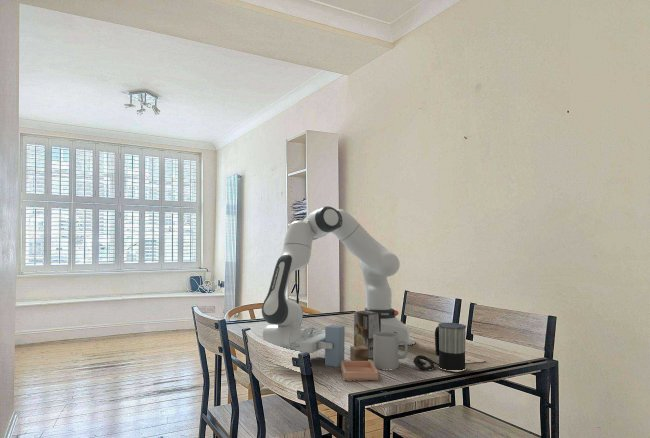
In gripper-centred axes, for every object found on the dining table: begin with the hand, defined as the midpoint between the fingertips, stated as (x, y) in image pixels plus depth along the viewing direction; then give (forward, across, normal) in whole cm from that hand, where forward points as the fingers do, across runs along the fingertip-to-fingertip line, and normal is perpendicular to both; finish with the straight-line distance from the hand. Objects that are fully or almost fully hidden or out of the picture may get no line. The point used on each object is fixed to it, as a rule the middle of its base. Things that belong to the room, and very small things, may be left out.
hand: (337, 344), depth 155 cm
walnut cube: (+5, +8, +7) cm, 12 cm away
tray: (+11, -7, +7) cm, 15 cm away
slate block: (-1, 0, +7) cm, 7 cm away
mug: (+17, +7, +7) cm, 20 cm away
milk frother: (+32, +13, +7) cm, 36 cm away
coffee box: (+4, +18, +7) cm, 20 cm away
